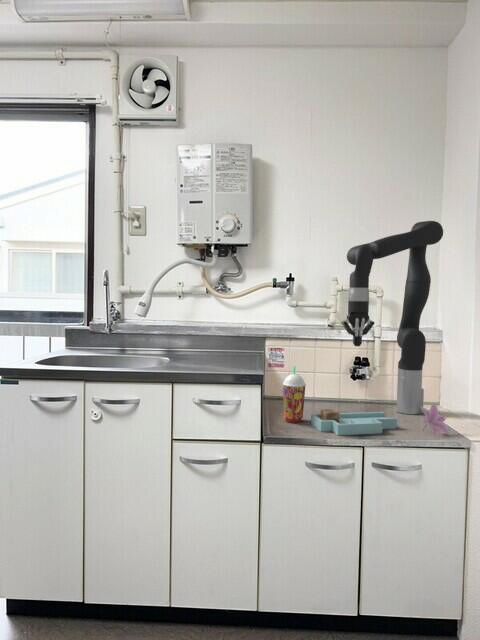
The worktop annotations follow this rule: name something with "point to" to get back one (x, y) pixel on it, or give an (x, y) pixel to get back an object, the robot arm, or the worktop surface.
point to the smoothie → (293, 397)
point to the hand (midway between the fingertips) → (357, 346)
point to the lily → (434, 420)
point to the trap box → (355, 423)
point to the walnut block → (329, 415)
